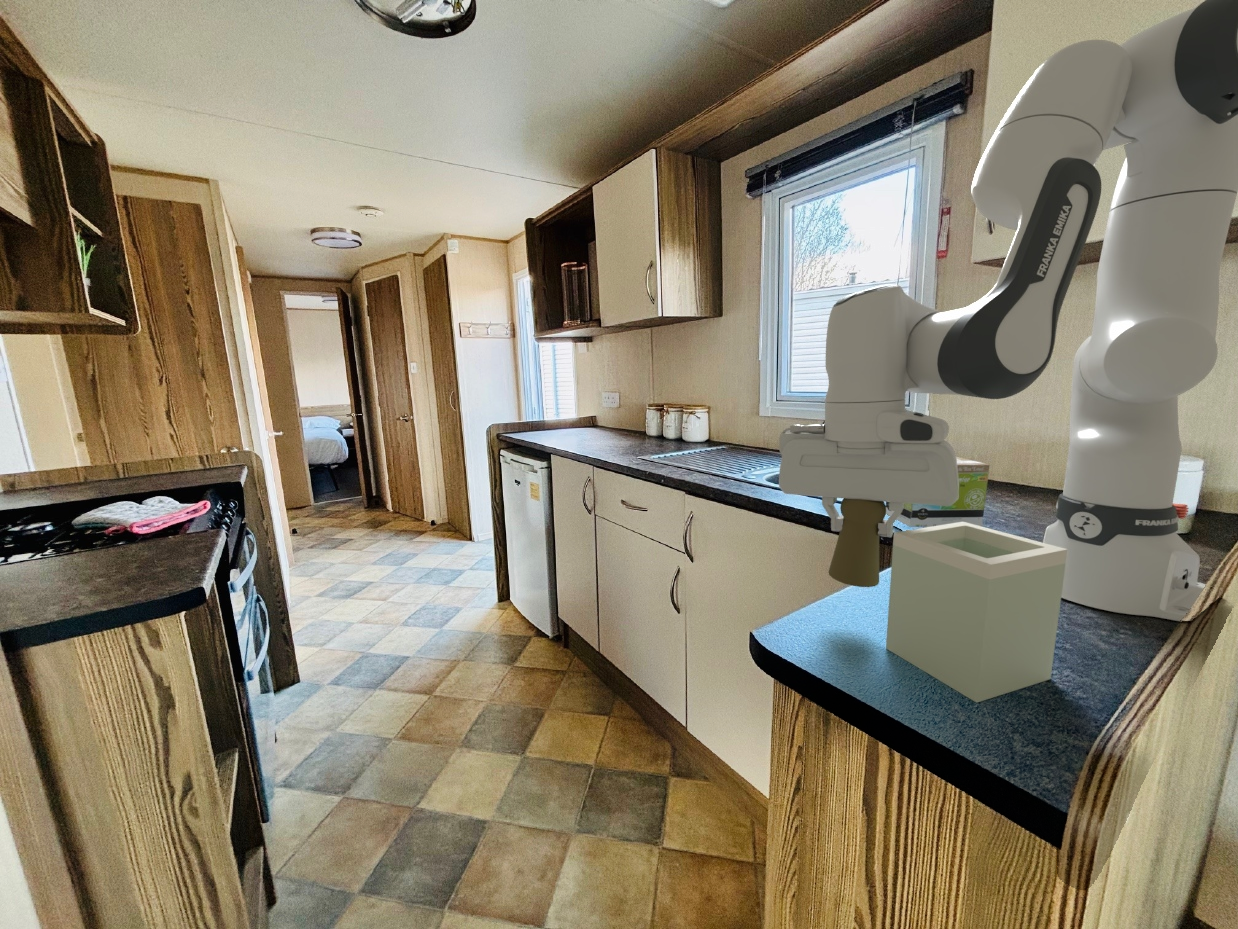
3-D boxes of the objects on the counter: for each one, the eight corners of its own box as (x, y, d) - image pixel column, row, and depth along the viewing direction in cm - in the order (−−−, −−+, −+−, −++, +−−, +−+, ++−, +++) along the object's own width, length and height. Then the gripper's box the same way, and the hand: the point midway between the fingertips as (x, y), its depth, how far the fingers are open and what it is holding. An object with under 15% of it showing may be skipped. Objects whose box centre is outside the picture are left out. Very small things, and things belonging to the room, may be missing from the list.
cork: (878, 573, 67) (890, 493, 64) (880, 591, 61) (893, 505, 59) (829, 564, 69) (839, 487, 67) (827, 580, 64) (838, 497, 61)
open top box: (952, 631, 64) (963, 521, 61) (1050, 679, 53) (1067, 549, 51) (885, 648, 60) (893, 532, 58) (976, 702, 50) (990, 564, 47)
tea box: (910, 536, 101) (915, 464, 98) (883, 522, 111) (887, 456, 108) (983, 534, 101) (991, 462, 99) (950, 520, 111) (956, 454, 109)
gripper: (771, 427, 65) (772, 529, 67) (961, 426, 53) (955, 551, 55) (786, 422, 70) (786, 518, 72) (962, 421, 58) (957, 536, 60)
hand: (861, 532), depth 64 cm, fingers closed on cork, 4 cm apart
